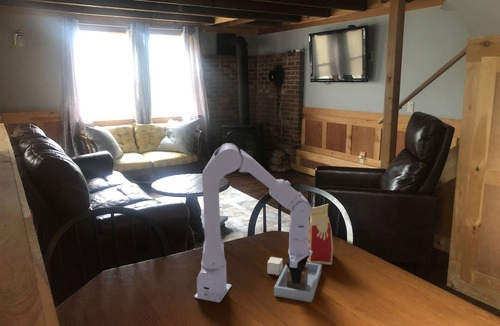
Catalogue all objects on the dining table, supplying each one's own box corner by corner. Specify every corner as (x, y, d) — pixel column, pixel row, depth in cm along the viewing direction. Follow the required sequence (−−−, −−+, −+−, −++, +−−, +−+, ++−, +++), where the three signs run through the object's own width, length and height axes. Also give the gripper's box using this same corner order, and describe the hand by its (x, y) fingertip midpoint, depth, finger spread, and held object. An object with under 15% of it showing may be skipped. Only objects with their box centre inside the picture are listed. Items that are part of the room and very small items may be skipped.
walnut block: (304, 289, 114) (305, 274, 113) (286, 286, 116) (286, 271, 115) (307, 282, 118) (308, 267, 117) (289, 279, 120) (290, 264, 119)
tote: (311, 302, 109) (312, 293, 108) (274, 295, 112) (274, 287, 112) (321, 272, 125) (321, 264, 125) (288, 267, 129) (288, 259, 128)
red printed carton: (330, 252, 140) (332, 199, 135) (333, 264, 131) (335, 208, 126) (304, 251, 140) (306, 199, 136) (305, 263, 131) (307, 207, 127)
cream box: (279, 275, 124) (279, 264, 123) (267, 273, 125) (267, 262, 124) (282, 269, 128) (282, 258, 127) (270, 267, 129) (270, 256, 128)
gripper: (308, 248, 105) (306, 293, 108) (316, 229, 119) (315, 269, 122) (282, 245, 108) (282, 289, 111) (294, 226, 121) (293, 266, 124)
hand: (297, 278), depth 116 cm, fingers closed on walnut block, 4 cm apart
